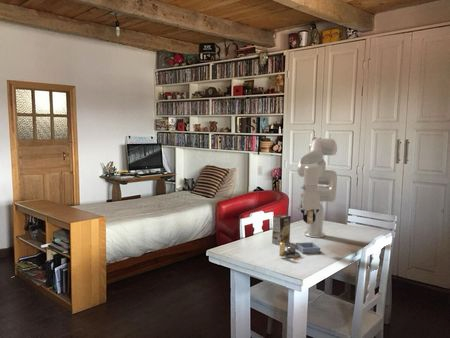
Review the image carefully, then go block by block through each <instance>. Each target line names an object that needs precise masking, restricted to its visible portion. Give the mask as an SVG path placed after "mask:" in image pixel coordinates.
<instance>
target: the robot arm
mask: <svg viewBox="0 0 450 338" xmlns="http://www.w3.org/2000/svg"><path fill="white" fill-rule="evenodd" d="M337 152H338V144H337V142H336V140H335V139H333V138H320V137H319V138H315V139H313V140H312V141H311V142H310V143H309V145H308V152H307V154H304V155H302V157H301V158H300V159H299V161H298V165H297V171H296V172H297V175H298V176H299V177H301V178H303V185H302V186H301V187H300V189H302V190H301V195H300V198H299V199H300V202H299V205H298V206H297V210H298V211H300V213H302V220H303V222H304V223H305V222H307V215H306V213H307V210H313V223H312V224H307V223H306V225H307V226H306V231H304V235H305V236H306V237H309V238H314V239H315V238H316V239H317V238H324V237H325V236H326V235H325V232H323V230H324V228H323V225H324V206H323V205H322V203H321V202H324V203H334V202H335V201H336V198H337V189H338V188H337V185H338V174H337V172H336V171H335V170H331V169H326V168H327V163H326V161H325V159H324V156H336V155H337Z"/></svg>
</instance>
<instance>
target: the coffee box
mask: <svg viewBox="0 0 450 338" xmlns="http://www.w3.org/2000/svg"><path fill="white" fill-rule="evenodd" d="M291 217H292V216H291V215H289V214H278V215H273V217H272V237H271V244H273V245H278V246H280V242H284V243H285V245H286V244H290V241H291V239H290V238H291Z"/></svg>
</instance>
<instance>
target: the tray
mask: <svg viewBox="0 0 450 338" xmlns="http://www.w3.org/2000/svg"><path fill="white" fill-rule="evenodd" d="M295 247H296V250H297V251H298V252H299V253H301V254H302V255H304V254H306V255H310V254H321V247H320V246H318V245H317V244H316V243H314V242H313V241H312V242H295Z"/></svg>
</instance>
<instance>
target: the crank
mask: <svg viewBox="0 0 450 338" xmlns="http://www.w3.org/2000/svg"><path fill="white" fill-rule="evenodd" d="M285 249H286V250H285ZM296 250H297V249H296V246H293V245H288V246H287V247H286V244H285V243H284V242H280V245H279V257H285V255H287V254H295V251H296ZM296 252H297V251H296Z"/></svg>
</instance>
